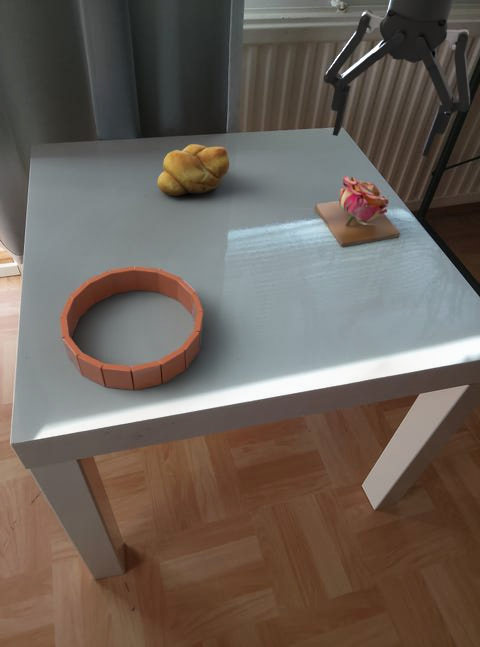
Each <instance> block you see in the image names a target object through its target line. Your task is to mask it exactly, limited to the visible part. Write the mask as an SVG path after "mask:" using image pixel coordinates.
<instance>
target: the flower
mask: <svg viewBox="0 0 480 647" xmlns="http://www.w3.org/2000/svg"><path fill="white" fill-rule="evenodd" d="M342 180H343V181H342V184H343V187H340V191H339V194H340V198H339V196H338V195H336V196H337V201H339V205H340V207H341V209H342V210H343V211H345V213H346V214H348V215H349V218H348V219H347V221H346V223H345V225H346V226H348V227H349V225H350V223H351V222H352V220H353V219H354V218H356V220H357V221H358V222H359V223H360V224H362V226H363V225H366V223H370V222H369V221H371V220H372V219H374V218H375V217H377V216H378V215H380V214H382V213H384V214H386V213H387V212H388V209H387V207H388V206H389V199H387V198H389V197H390V196H389V195H381V193H382V191H381V189H379V188H378V185H376V184H375V183H373V182H364V181H362V180H356V179H355V177H354V176H351V177H349V176H347V175H344V176H343V179H342ZM344 187H345V188H344ZM372 224H374V223H372ZM374 225H375V224H374Z"/></svg>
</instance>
